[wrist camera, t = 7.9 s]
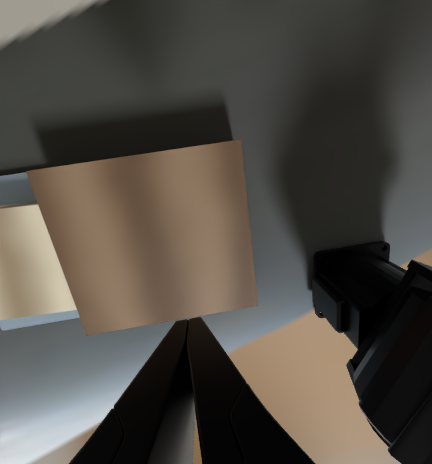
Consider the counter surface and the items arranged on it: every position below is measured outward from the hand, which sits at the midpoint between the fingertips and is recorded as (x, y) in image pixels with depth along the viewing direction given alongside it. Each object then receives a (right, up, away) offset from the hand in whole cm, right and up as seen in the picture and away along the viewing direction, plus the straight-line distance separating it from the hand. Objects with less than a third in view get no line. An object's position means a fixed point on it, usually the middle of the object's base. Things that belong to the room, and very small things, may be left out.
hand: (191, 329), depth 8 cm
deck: (-3, +3, +11) cm, 12 cm away
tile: (-13, +2, +10) cm, 17 cm away
